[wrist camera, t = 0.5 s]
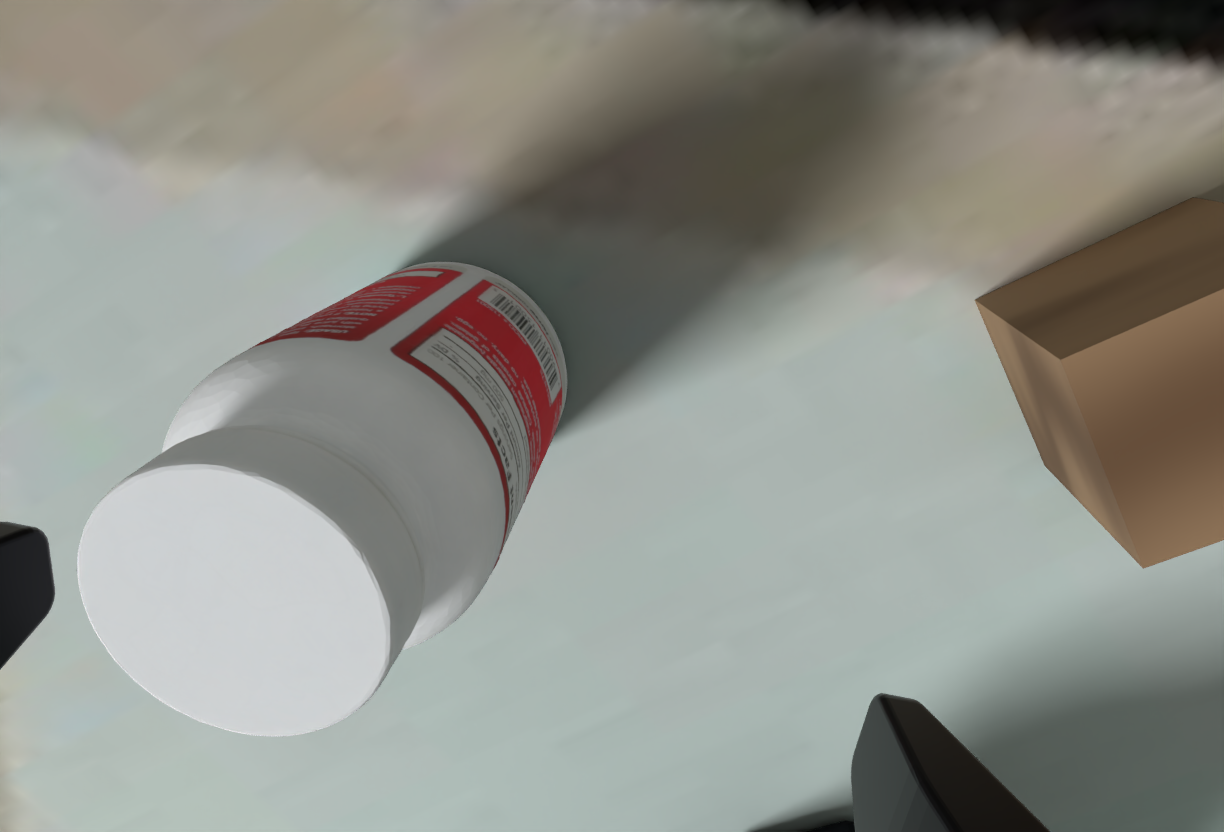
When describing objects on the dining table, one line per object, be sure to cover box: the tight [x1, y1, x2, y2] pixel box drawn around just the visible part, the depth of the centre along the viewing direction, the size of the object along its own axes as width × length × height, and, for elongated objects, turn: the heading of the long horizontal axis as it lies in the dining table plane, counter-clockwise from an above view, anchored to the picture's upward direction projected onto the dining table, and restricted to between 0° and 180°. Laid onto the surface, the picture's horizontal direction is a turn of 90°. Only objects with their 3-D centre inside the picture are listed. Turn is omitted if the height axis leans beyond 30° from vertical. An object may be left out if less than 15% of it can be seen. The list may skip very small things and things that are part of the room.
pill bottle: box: [77, 262, 567, 736], centre depth 16 cm, size 6×6×11 cm
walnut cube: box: [975, 197, 1224, 568], centre depth 17 cm, size 5×5×5 cm
